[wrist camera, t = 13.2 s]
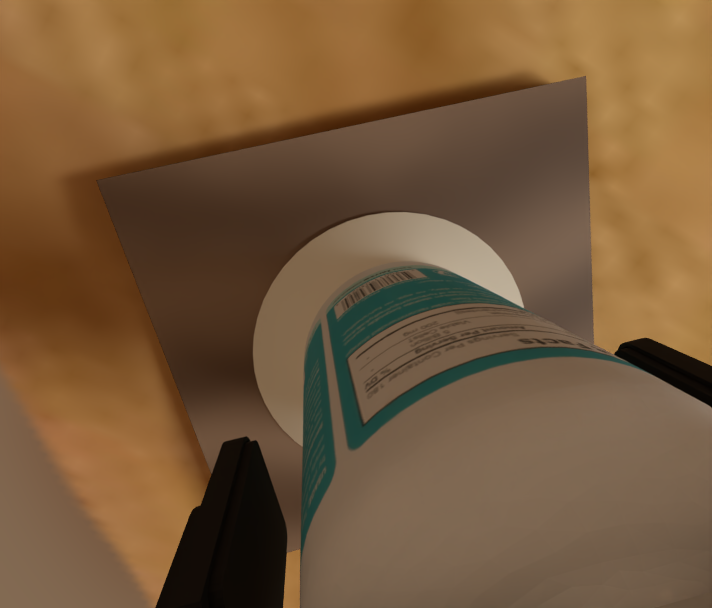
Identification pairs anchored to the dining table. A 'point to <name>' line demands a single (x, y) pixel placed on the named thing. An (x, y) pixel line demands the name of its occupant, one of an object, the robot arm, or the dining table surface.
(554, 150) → the serving board
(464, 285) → the pill bottle
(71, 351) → the dining table surface
